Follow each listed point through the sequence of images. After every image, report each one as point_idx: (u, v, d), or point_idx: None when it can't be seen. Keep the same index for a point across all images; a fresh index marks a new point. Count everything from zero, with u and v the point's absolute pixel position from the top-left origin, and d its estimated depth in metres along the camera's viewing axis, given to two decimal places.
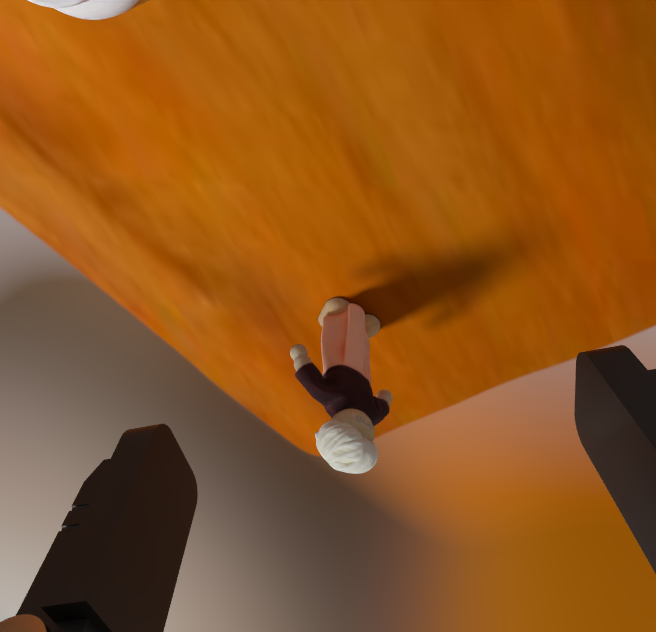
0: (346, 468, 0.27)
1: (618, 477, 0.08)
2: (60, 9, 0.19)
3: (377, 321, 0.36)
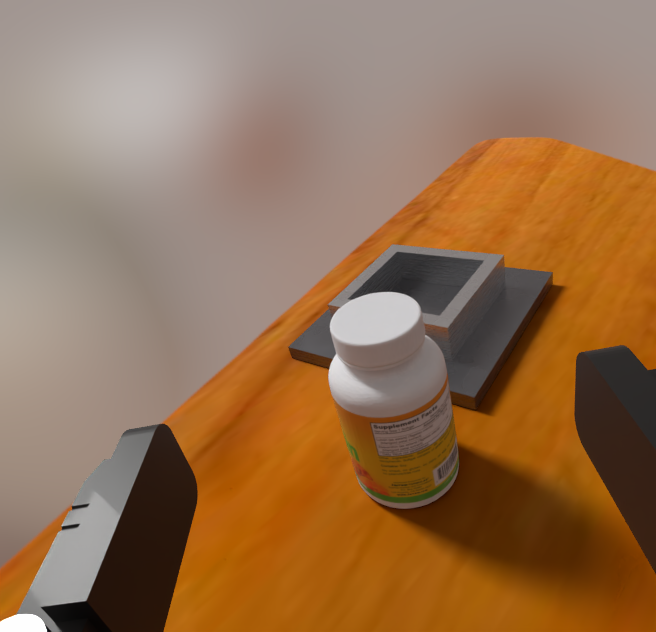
0: None
1: (618, 477, 0.08)
2: (330, 368, 0.24)
3: None
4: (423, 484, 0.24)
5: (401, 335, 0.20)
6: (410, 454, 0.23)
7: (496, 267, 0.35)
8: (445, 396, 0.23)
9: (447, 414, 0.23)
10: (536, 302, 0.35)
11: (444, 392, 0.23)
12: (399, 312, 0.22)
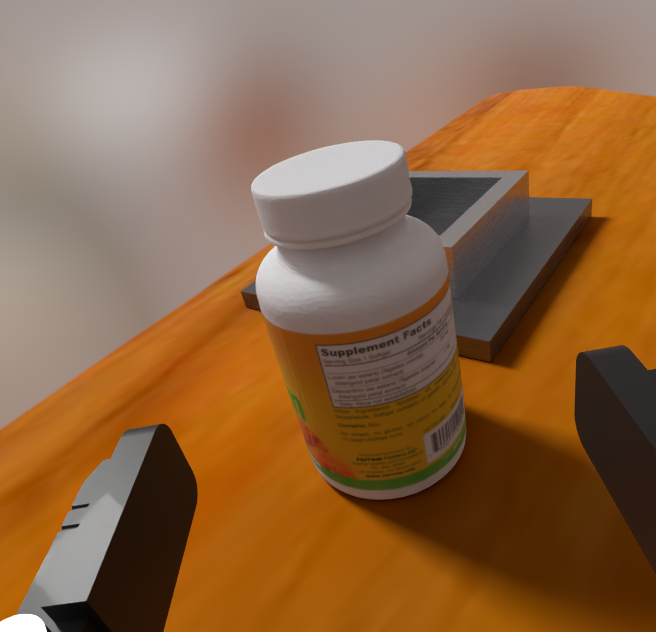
0: None
1: (618, 477, 0.08)
2: (260, 266, 0.15)
3: None
4: (408, 459, 0.15)
5: (366, 178, 0.11)
6: (386, 405, 0.14)
7: (518, 184, 0.26)
8: (445, 308, 0.14)
9: (448, 341, 0.14)
10: (572, 232, 0.26)
11: (444, 301, 0.13)
12: (368, 156, 0.13)
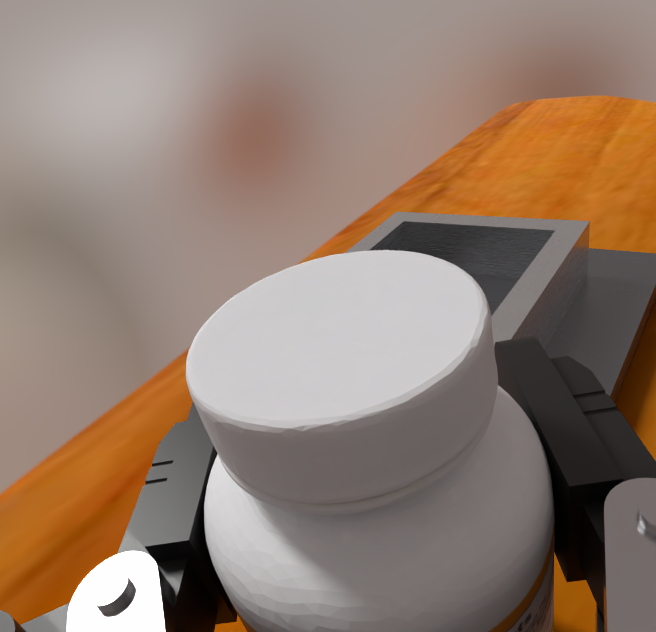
0: None
1: None
2: (214, 463, 0.08)
3: None
4: None
5: (422, 392, 0.05)
6: None
7: (579, 241, 0.20)
8: (551, 570, 0.07)
9: (550, 613, 0.08)
10: (649, 304, 0.20)
11: (550, 561, 0.07)
12: (413, 306, 0.06)
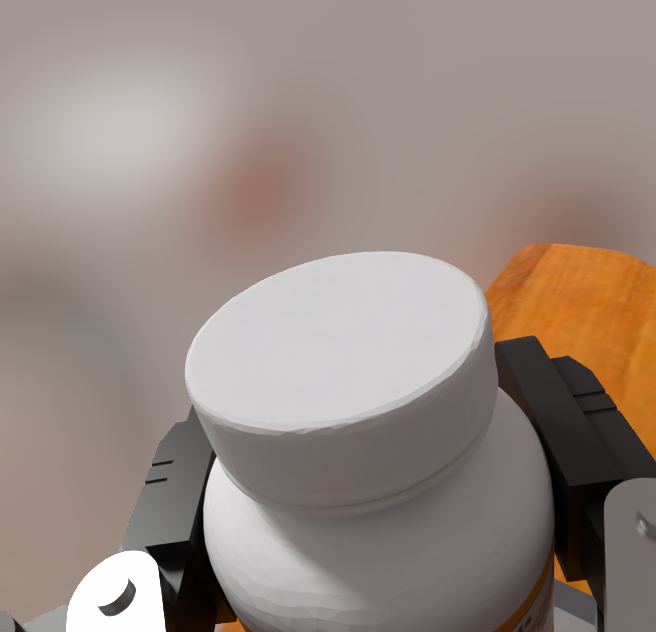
0: None
1: None
2: (213, 465, 0.08)
3: None
4: None
5: (422, 395, 0.05)
6: None
7: None
8: (551, 572, 0.07)
9: (550, 616, 0.08)
10: None
11: (551, 564, 0.07)
12: (413, 308, 0.06)
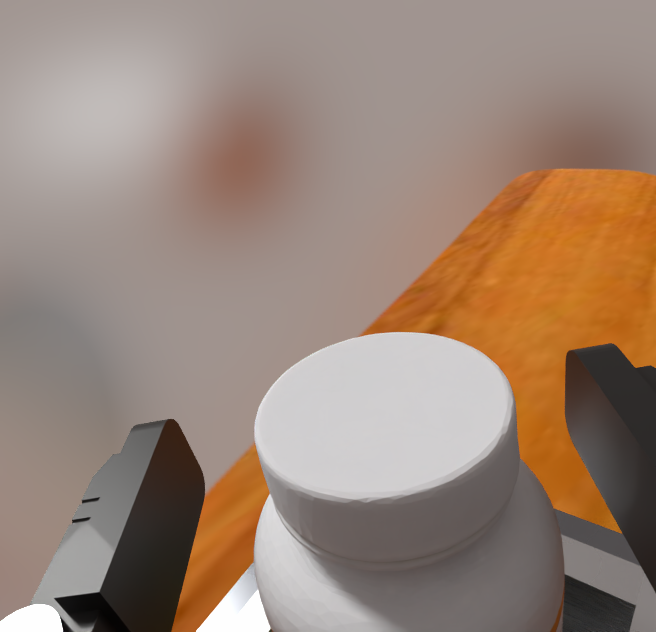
0: None
1: (606, 473, 0.09)
2: (262, 515, 0.09)
3: None
4: None
5: (463, 473, 0.06)
6: None
7: None
8: (561, 623, 0.08)
9: None
10: None
11: (561, 615, 0.08)
12: (449, 391, 0.08)
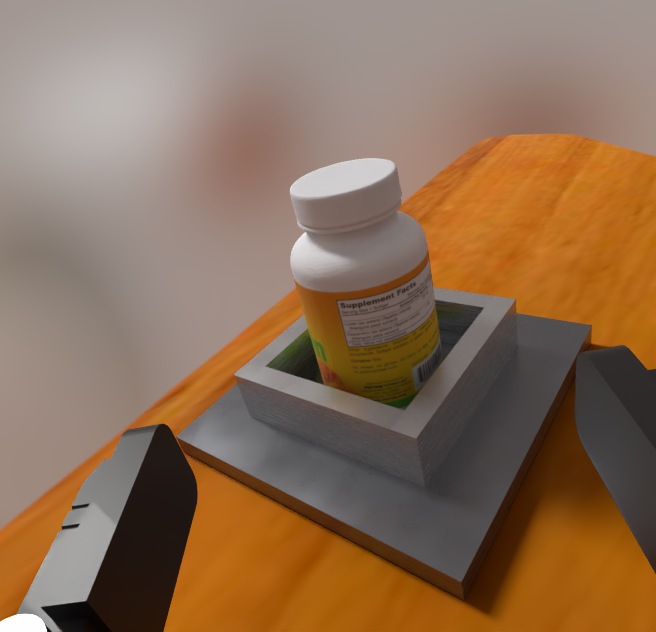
0: None
1: (618, 477, 0.08)
2: (292, 249, 0.20)
3: None
4: (401, 386, 0.20)
5: (371, 184, 0.17)
6: (385, 344, 0.19)
7: (503, 320, 0.22)
8: (425, 275, 0.19)
9: (428, 300, 0.20)
10: (568, 377, 0.22)
11: (425, 270, 0.19)
12: (371, 170, 0.19)
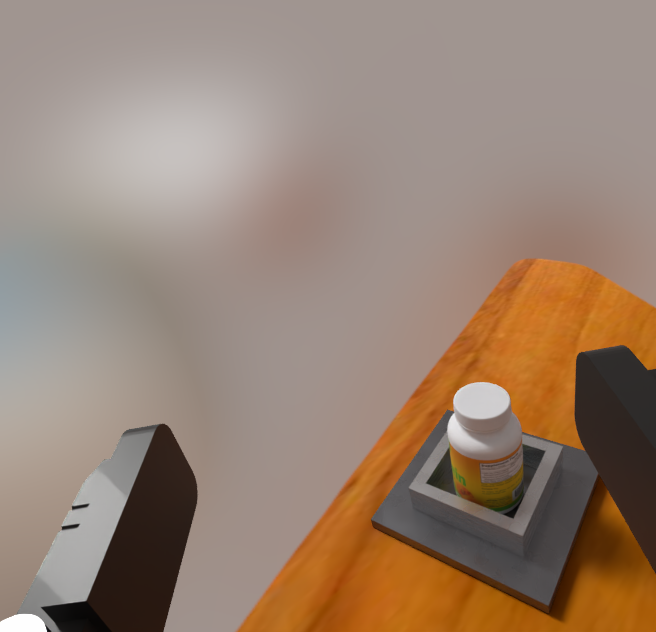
0: None
1: (618, 477, 0.08)
2: (449, 428, 0.39)
3: None
4: (506, 500, 0.39)
5: (502, 413, 0.36)
6: (501, 481, 0.38)
7: (557, 460, 0.40)
8: (521, 446, 0.38)
9: (521, 457, 0.38)
10: (592, 491, 0.40)
11: (521, 444, 0.38)
12: (496, 397, 0.37)
